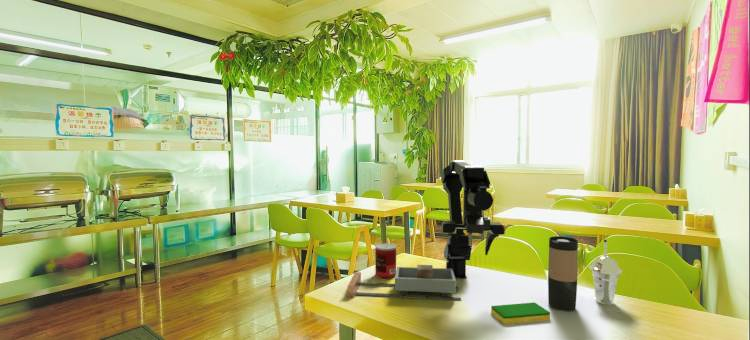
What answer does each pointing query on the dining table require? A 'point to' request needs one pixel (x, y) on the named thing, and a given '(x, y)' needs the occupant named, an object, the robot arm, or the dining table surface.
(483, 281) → the dining table surface
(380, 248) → the canned food
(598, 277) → the cup with straw
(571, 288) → the travel mug
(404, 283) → the grey open tray
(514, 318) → the dish sponge
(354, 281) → the track
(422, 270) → the walnut block
